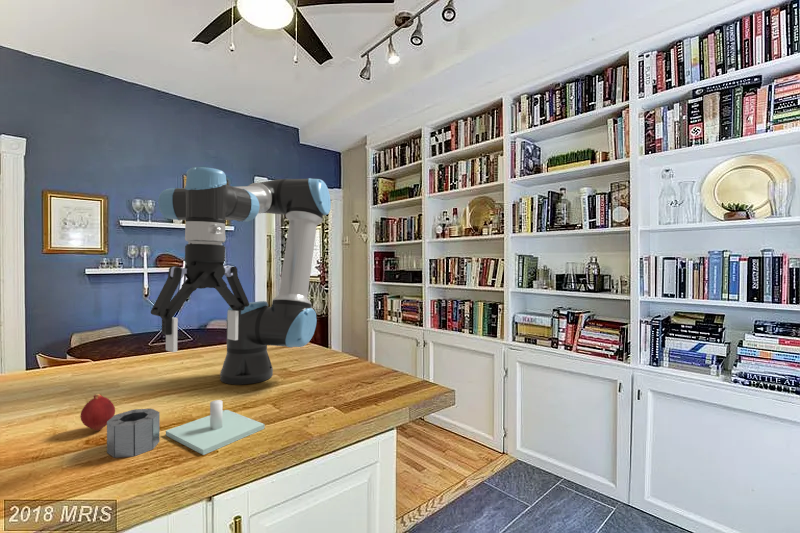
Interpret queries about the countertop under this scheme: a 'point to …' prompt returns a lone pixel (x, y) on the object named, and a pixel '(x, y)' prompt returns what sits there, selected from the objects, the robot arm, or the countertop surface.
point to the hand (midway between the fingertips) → (204, 345)
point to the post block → (214, 429)
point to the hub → (132, 432)
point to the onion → (97, 412)
